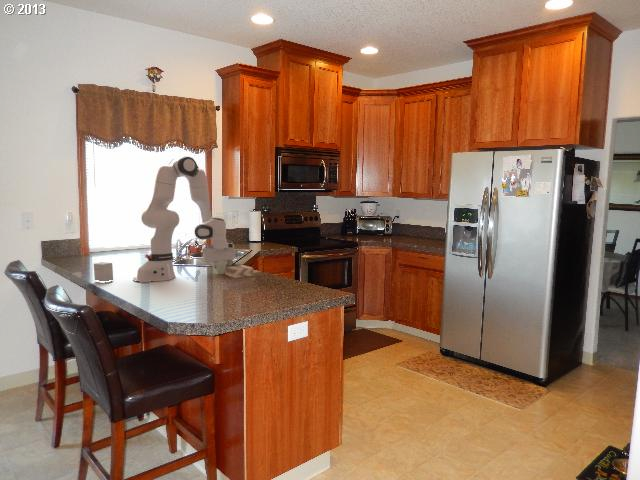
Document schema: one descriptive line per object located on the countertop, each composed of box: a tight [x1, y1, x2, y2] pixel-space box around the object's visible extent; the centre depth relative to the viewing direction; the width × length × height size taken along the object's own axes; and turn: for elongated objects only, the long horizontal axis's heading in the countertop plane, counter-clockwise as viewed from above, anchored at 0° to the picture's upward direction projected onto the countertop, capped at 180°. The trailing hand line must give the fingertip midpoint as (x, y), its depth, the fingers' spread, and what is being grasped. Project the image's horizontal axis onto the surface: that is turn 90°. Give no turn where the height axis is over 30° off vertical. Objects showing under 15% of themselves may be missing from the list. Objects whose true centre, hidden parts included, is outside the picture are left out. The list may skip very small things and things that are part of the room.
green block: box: [213, 260, 226, 275], centre depth 280 cm, size 5×5×8 cm
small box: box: [93, 261, 114, 281], centre depth 254 cm, size 8×6×10 cm
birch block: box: [225, 264, 254, 279], centre depth 274 cm, size 12×12×5 cm
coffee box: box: [226, 239, 234, 266], centre depth 312 cm, size 9×6×16 cm
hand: (219, 268), depth 280 cm, fingers closed on green block, 5 cm apart
